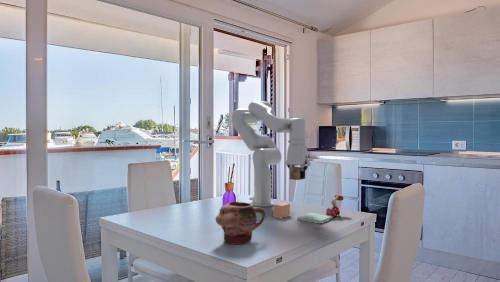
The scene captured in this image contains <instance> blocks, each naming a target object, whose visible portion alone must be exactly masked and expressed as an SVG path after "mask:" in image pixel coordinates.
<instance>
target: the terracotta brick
mask: <svg viewBox="0 0 500 282" xmlns="http://www.w3.org/2000/svg"><path fill="white" fill-rule="evenodd" d="M272 207H273V208H272V209H273V211H272V212H273V213H272V217H273V216H275V217H274V218H277V217H281V218H280V219H284V218H283V217H285V218H287V217H286V216H288V217H290V216H291V204H290V203H288V202H287V203H286V202H277V203H274V205H273V206H272ZM289 215H290V216H289Z"/></svg>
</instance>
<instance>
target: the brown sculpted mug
mask: <svg viewBox="0 0 500 282" xmlns="http://www.w3.org/2000/svg"><path fill="white" fill-rule="evenodd" d="M258 213H259V214H260V215H261V219H260V220H259V221H258V222H257V214H258ZM265 219H266V211H265V210H264V208H263V207H258V206H253V205H252V204H251V203H248V202H244V201H243V202H241V201H231V202H228V203H225V204H224V205H222V206H221V207H220V208H219V213H218V215H216V217H215V221H216V224H217V225H218V226H220V227H221V229H222V230H223V240H224V241H225V243H229V244H232V245H245V244H249V243H250V242H251V240H252V237H253V231H255V230H256V229H257V228H259V227H260V226H261V225H262V223H263V222H264V221H265Z"/></svg>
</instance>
